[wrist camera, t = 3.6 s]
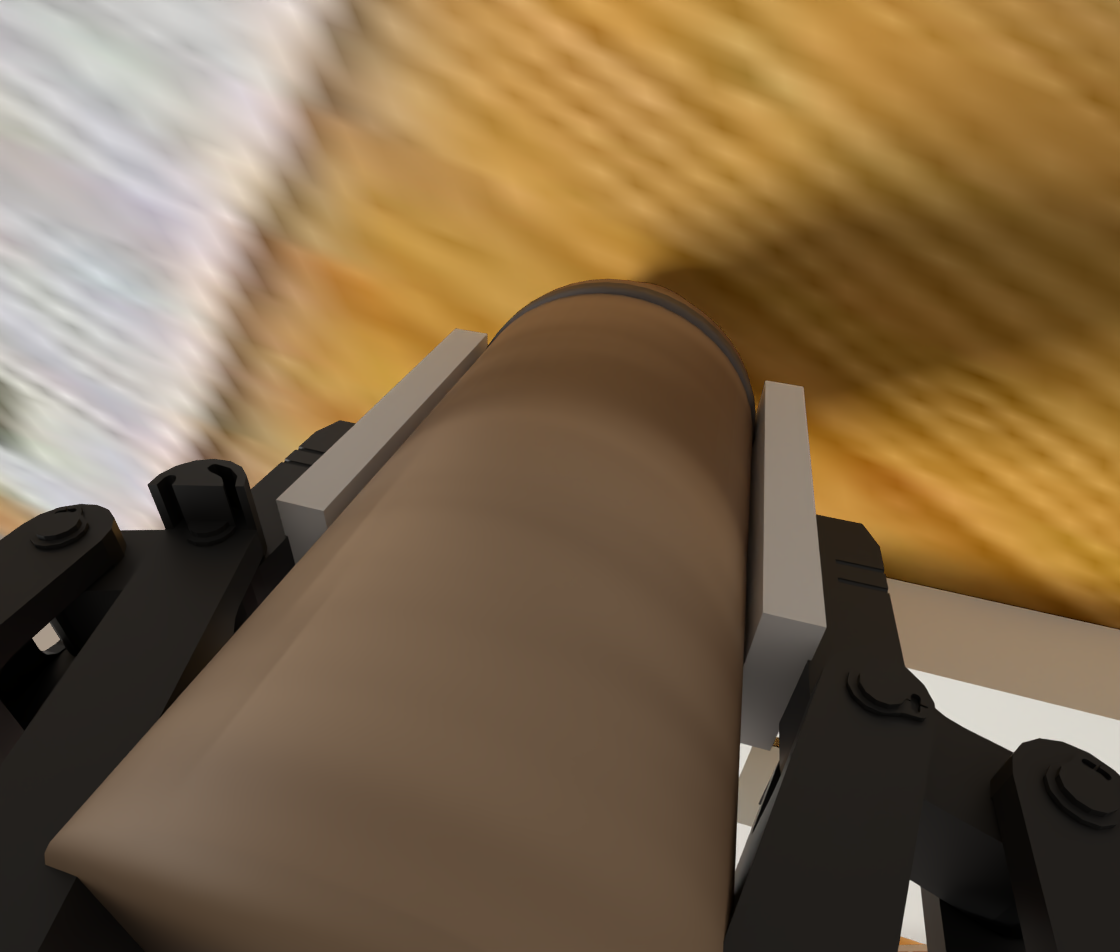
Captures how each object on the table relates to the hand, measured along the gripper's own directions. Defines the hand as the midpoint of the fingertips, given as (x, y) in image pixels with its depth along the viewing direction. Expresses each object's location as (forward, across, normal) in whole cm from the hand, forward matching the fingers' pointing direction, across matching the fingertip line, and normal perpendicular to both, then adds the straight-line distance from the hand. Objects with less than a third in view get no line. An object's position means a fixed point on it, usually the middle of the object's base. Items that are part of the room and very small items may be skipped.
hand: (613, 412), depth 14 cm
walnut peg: (+3, 0, 0) cm, 3 cm away
